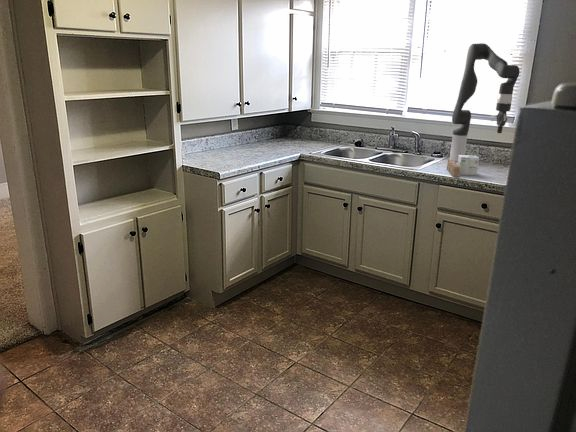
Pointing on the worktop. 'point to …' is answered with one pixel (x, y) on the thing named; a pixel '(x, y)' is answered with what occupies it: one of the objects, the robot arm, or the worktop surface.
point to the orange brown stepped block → (453, 168)
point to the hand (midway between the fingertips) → (499, 132)
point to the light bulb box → (468, 164)
